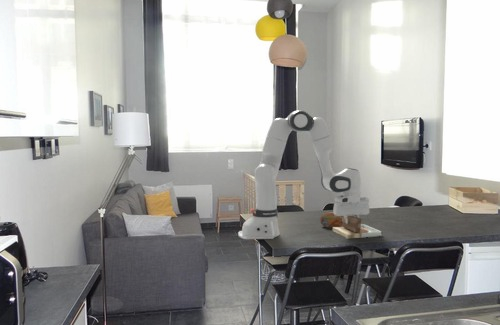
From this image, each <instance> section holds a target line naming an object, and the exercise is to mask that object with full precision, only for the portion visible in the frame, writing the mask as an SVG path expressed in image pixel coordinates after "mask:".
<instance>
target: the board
mask: <svg viewBox="0 0 500 325" xmlns="http://www.w3.org/2000/svg"><path fill="white" fill-rule="evenodd" d="M332 232H333V233H335V234H337V235H340V236H342V237H343V238H345V239H347V240H348V239H359V238H360V239H362V238H361V233H358V232H354V231H352V230H349V229H347V228H345V227H342V226H339V227H332Z"/></svg>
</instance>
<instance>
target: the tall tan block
mask: <svg viewBox="0 0 500 325" xmlns="http://www.w3.org/2000/svg"><path fill="white" fill-rule="evenodd" d="M347 219H348V220H350V223H348V224H347V223H346V220H345V218H344V216H343V220H342V226H341V227H345V228H347V229H349V230H352V231H354V232H360V228H361V224H362V218H360V217H359V218H357V217H356V216H355V215H348V217H347Z"/></svg>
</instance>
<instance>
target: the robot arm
mask: <svg viewBox="0 0 500 325" xmlns="http://www.w3.org/2000/svg"><path fill="white" fill-rule="evenodd" d="M292 131H294V132H306V133H307V135H308V137H309V140H310V143H311V146H312V148H313V150H314V153H315V155H316V159H317V162H318V163H317V164H318V166H319V169H320V173H321V179H320V181H321V182H320V183H321V186H322V188H323V189H324V190H326V191H329V192H330V191H331V193H332V192H333V193H339V195H338V196H335V197H334V201H335V202H334V204H333V210H332V211H333V212H332V213H334V215H336V216H344V218H345V220H346V223H347V224H348V223H350V220H348V219H347V217H348V215H352V216H354V217H357V218H360V216H362V215H369V214H370V201H369V200H370V199H369V198H368V197H366V196H364V197H361V190H360V189H361V188H360V187H361V172H360V171H359V170H358V169H357V168H350V167H346V168H344V169H342V170H341V171H339V172H337V173H335V171H333V170H334V169H333V167H332V162H331V160H330V154H331V152H332V151H333V148H334V140H333V137H332V133H331V130H330V128H329V127H328V124H327V122H326V121H325V119H324V118H322V117H320V116H319V117H317V116H316V117H312V116H311V115H310V114H309V113H308V112H307V111H305V110H301V109H296V110H293V111H292V112H290V113H289V114H288V115H287V117H285V118H284V117H283V118H282V117H277V118H274V119H273V121H272V122H271V124H270V127H269V128H268V132H267V135H266V137H265V141H264V144H263V147H262V152H261V157H260V162H259V164H258V166H256V168H255V170H254V175H253V176H254V187H255V195H256V196H255V198H256V199H255V201H256V203H255V206H256V207H255V208H251V209H250V210H249V211H250V213H252V215H251V217H250V218H248V219H247V220H245V221H244V222H243V224H242V229H241V230H239V231H238V232H237V235H238V237H239V238H240V239H243V240H270V239H271V240H273V239H274V238H277V237H279V236H280V230H279V225H278V217H279V216H278V215H279V214H278V213H279V211H278V208H277V207H278V206H277V204H278V203H277V198H278V197H277V184H276V183H277V182H276V178H277V177H278V173H279V169H280V167H281V162H282V158H283V154H284V152H285V149H286V145H287V142H288V139H289V135H290V134H291V133H292ZM340 193H342V194H340Z"/></svg>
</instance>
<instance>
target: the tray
mask: <svg viewBox="0 0 500 325" xmlns="http://www.w3.org/2000/svg"><path fill="white" fill-rule="evenodd" d="M361 228H364V229H366V230H369V232H368V233H361V238H360V239H365V238H366V237H368V238H377V237H379V236H380V237H383V231H382V230H379V229H376V228H374V227H371V226H369V225H367V224H364V223H361ZM380 237H379V238H380Z"/></svg>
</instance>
